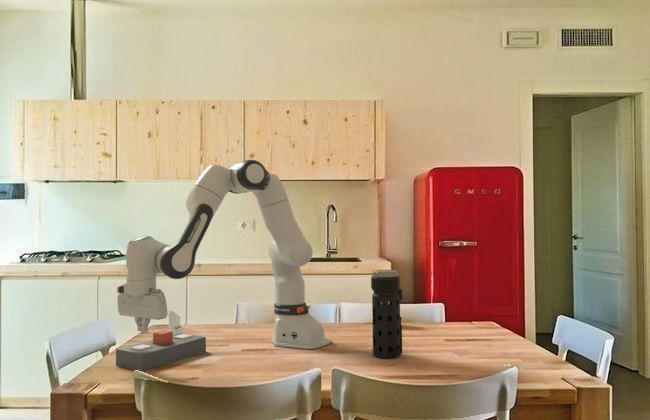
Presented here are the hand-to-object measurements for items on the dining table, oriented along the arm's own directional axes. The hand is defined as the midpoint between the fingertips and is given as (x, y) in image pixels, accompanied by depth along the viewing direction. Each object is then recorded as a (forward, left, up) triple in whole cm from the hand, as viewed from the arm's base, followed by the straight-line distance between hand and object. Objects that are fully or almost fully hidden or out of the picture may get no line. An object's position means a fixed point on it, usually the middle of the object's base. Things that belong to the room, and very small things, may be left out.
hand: (142, 331), depth 157 cm
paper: (-96, -57, -11) cm, 112 cm away
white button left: (0, 0, -10) cm, 10 cm away
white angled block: (+22, -33, -11) cm, 41 cm away
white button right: (0, -17, -10) cm, 19 cm away
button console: (0, -8, -10) cm, 13 cm away
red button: (0, -8, -7) cm, 11 cm away
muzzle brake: (-63, -48, -11) cm, 80 cm away
